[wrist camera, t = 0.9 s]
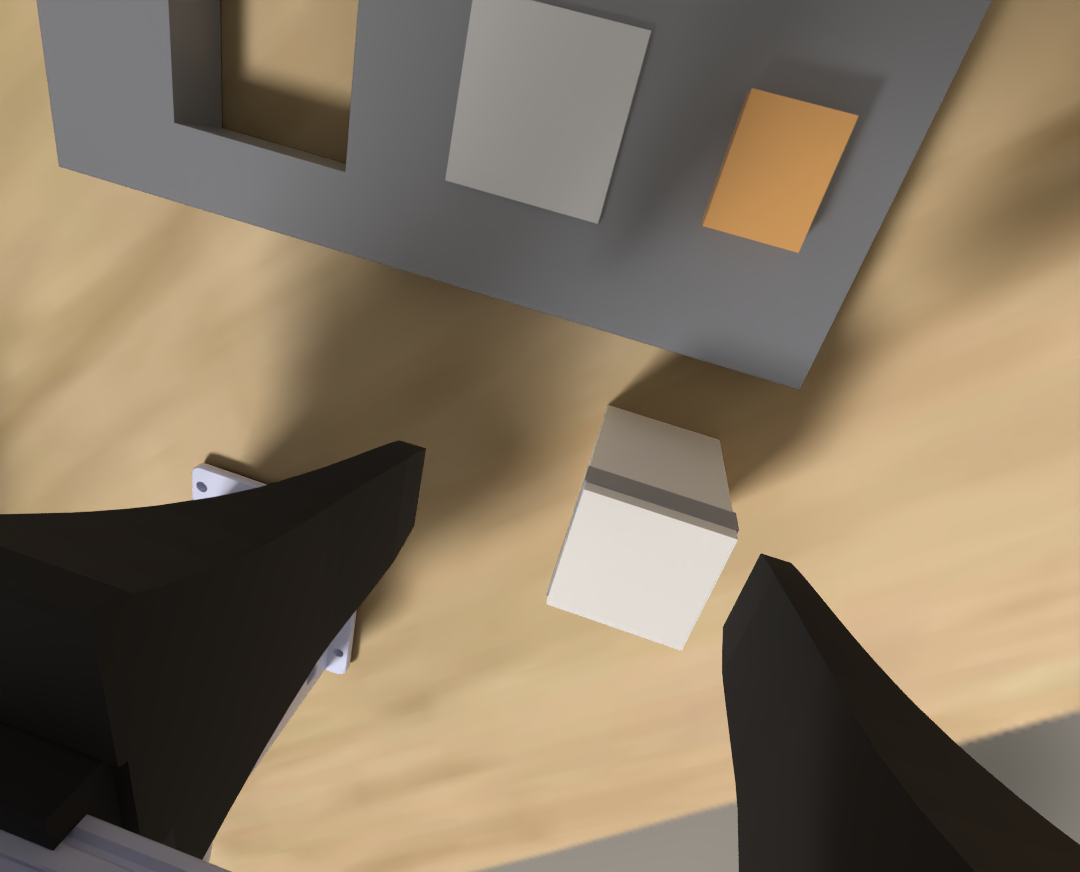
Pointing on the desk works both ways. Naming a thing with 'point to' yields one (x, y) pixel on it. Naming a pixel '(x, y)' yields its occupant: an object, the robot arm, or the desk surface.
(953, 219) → the desk surface
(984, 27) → the desk surface
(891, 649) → the desk surface
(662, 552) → the block
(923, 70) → the grey slab
